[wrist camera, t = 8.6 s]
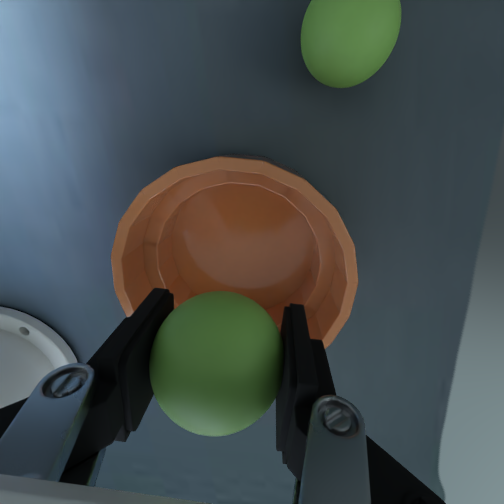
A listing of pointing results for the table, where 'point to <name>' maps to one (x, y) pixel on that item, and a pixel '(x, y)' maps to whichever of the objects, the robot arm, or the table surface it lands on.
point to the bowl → (238, 241)
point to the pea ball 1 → (216, 363)
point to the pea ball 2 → (348, 39)
